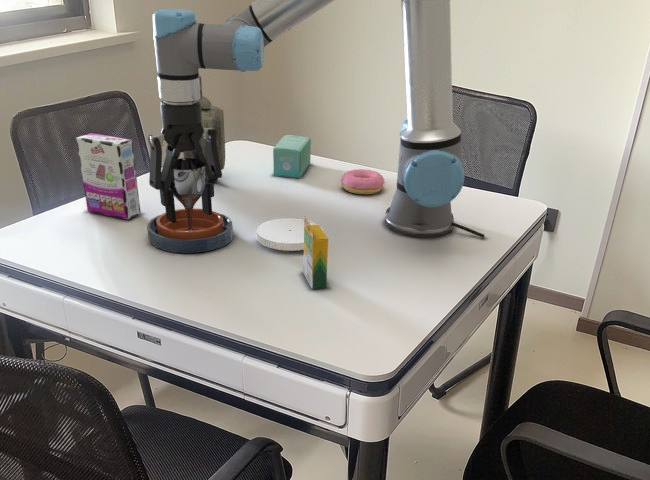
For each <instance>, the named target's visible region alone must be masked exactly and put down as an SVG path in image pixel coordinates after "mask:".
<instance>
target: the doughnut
mask: <svg viewBox="0 0 650 480" xmlns="http://www.w3.org/2000/svg"><path fill="white" fill-rule="evenodd" d="M340 182H341V186H342V188H343V189H344V190H345V191H347V192H349V193H352V194H355V195H373V194H376V193H379V192H380V191H382V190H383V188H384V185H385V179H384V176H383V175H382V174H381V173H379V172H377V171H376V170H371V169H364V168H357V169H351V170H347V171H345V172H344V173H343V174H342V176H341V178H340Z"/></svg>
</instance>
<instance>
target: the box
mask: <svg viewBox="0 0 650 480" xmlns="http://www.w3.org/2000/svg"><path fill="white" fill-rule="evenodd" d="M311 145H312V138H311V137H310V136H302V135H301V136H300V135H292V134H291V135H290V134H285V135H284V136H283V137H282V138H281V139H280V140H279V141H278V142H277V143H276V144H275V145H274V147H273V149H272V159H273V161H272V162H273V164H272V165H273V176H274V177H284V178H292V179H293V178H294V179H301V178H302V177H303V175H304V174H305V172H306V170H307V169H308V167H309V165H310V164H311Z"/></svg>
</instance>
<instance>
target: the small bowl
mask: <svg viewBox="0 0 650 480" xmlns="http://www.w3.org/2000/svg"><path fill="white" fill-rule="evenodd" d="M218 213H219V212H216V211H213V210H212V215H208V214H206V213H205V212H203V211H202V208H193V210H192V227H193V229H199V230H195V231H181V230H186V229H189V226H188V218H187V213H186V210H185V208H179V209H178V208H177V209H175V214H176V222H175V223H172V222H170V221H169V220H167V219H166V212H165V213H161V214H162V215H161V214H159V215H160V216H159V215H158V216H159V217H158V218H157V220H156V226H157V234H158V235H161V236H164V237H168V238H173V239H201V238H207V237H211V236H215V235H218V234H220V233H223V232H224V225H223V218H222V216H221V215H220V214H221V213H219V214H218Z"/></svg>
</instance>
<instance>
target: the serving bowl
mask: <svg viewBox="0 0 650 480" xmlns="http://www.w3.org/2000/svg"><path fill="white" fill-rule="evenodd" d="M217 213H218V214H220V215H221V216H222V218H223V225H224V232H223V233H220V234H218V235H215V236H211V237H207V238H201V239H173V238H168V237H164V236H161V235H158V234H157V226H156V220H157V218H158V217H159V216H160V215H162V214H163V213H161V214H159V215H156V216H154V217H153V218H151V219H150V220H149V221H148V222H147V225H146V229H147V230H146V231H147V238H148V241H149V243H150V244H151V245H153V246H154V247H155V248H158V249H161V250H164V251H167V252H173V253H182V254H194V253H195V254H196V253H203V252H208V251H213V250H216V249H217V250H218V249H219V248H222V247H225V246H226V245H227V244H229V243H231V241H232V240H233V238H234V230H233V228H234V227H233V221H232V220H231V218H230V217H229V216H226V215H225V214H222V213H219V212H217Z"/></svg>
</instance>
